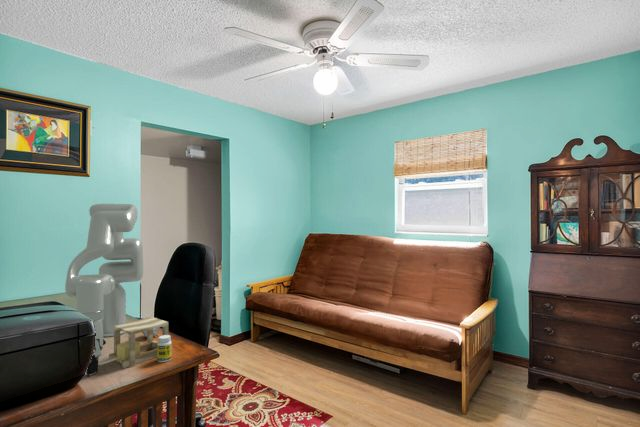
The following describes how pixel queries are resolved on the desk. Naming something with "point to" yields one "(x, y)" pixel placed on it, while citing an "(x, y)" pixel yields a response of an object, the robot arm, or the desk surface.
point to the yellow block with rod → (122, 353)
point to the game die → (155, 332)
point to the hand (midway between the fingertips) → (89, 371)
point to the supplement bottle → (164, 348)
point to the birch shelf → (133, 329)
